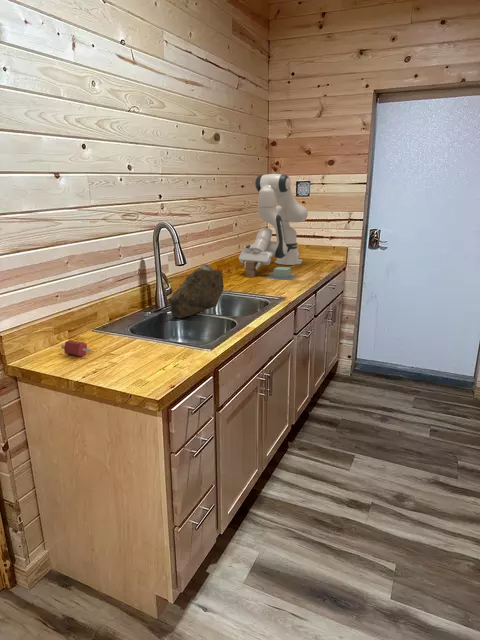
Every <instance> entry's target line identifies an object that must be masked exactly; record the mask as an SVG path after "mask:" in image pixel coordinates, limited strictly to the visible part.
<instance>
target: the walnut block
mask: <svg viewBox="0 0 480 640" xmlns="http://www.w3.org/2000/svg"><path fill="white" fill-rule="evenodd" d="M257 265H258V264H257V262H255V261H247V262H246V269H245V277H247V278H248V277H250V278H254V277H256V276H257V274H258V273H257V271H258V269H257V270H255V269H254V267H255V266H257Z"/></svg>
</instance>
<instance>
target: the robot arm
mask: <svg viewBox="0 0 480 640" xmlns="http://www.w3.org/2000/svg"><path fill="white" fill-rule="evenodd" d="M254 184H255V189H256V191H257V192H258V197H257V214H258V216H259V218H260V219H261V220H262V221H263V222H266V224H270V225H271V226H272V227H273V229H274V231H275V238H276V241H273V240H272V236H273V230H272V229H271V228H269V227H262V228H260V229H259V231H258V232H257V235H256V237H255V240H254V242H253V243H250V244H247V245H245V246H244V247H243V250H242V251H241V252H240V253H239V255H238V260H239V263H242V264H244V270H246V262H247V261H255V262H257V266H255V267H254V269H255V270H257V271H258V269H259V268H260V267H261V266H269V265H271V261H272V258H276V259H275V260H274V263H275V264H278V265H284V266H285V265H287V266H292V265H301V264H302V263H303V259H301V258H300V252H299V250H298V242H297V230H295V228H293V227H291V225H290V223H303V222H305V221H306V220H307V219H308V210H307V208H306V207H305V206H303V205H302V204H300V202H298V201H297V199H295V197H294V195H293V192H292V189H291V179H290V176H289V175H288V174H284V173H283V174H282V173H279V174H278V173H268V174H264V173H263V174H260V175H258V176H257V177H256V179H255V183H254Z"/></svg>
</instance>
